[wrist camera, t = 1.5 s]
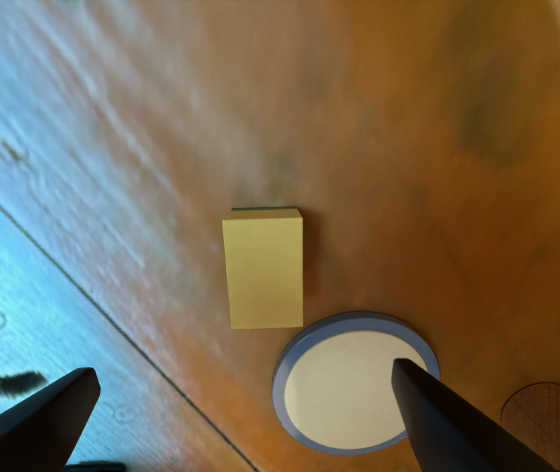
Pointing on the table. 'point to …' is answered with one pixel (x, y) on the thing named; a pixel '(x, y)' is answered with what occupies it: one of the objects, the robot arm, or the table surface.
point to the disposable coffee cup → (536, 420)
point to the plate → (346, 382)
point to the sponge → (264, 267)
